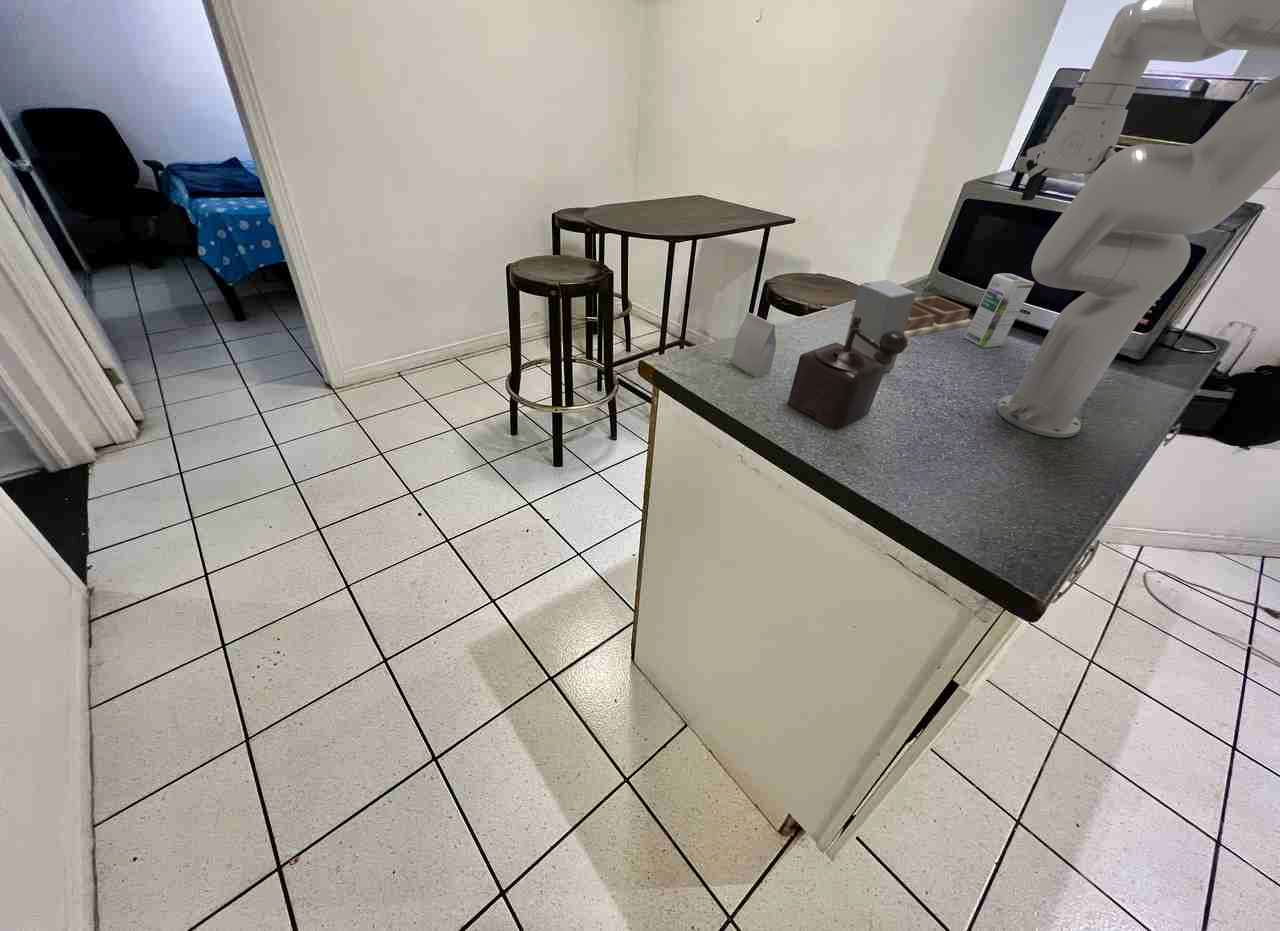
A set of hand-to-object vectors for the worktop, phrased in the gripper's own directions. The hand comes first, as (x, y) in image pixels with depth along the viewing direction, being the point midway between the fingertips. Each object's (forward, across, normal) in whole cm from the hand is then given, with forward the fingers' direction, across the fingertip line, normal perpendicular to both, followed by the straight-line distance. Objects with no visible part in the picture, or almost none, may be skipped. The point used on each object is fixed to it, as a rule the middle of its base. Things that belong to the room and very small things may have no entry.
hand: (1050, 205), depth 101 cm
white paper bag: (+28, -8, -59) cm, 66 cm away
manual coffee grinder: (+28, +12, -55) cm, 63 cm away
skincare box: (+28, -1, -36) cm, 46 cm away
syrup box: (+29, 0, 0) cm, 29 cm away
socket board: (+28, -16, -5) cm, 33 cm away
